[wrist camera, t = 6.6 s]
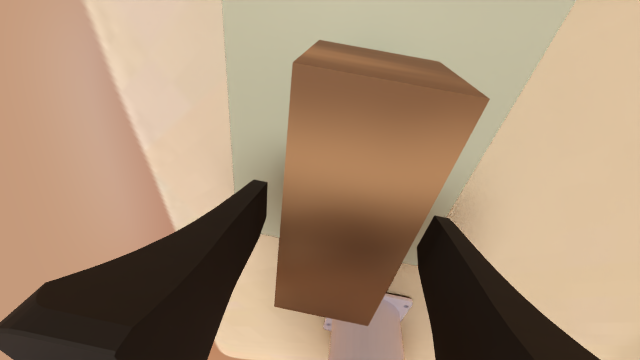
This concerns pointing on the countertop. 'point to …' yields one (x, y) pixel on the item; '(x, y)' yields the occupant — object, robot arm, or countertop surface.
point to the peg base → (384, 35)
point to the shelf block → (363, 171)
